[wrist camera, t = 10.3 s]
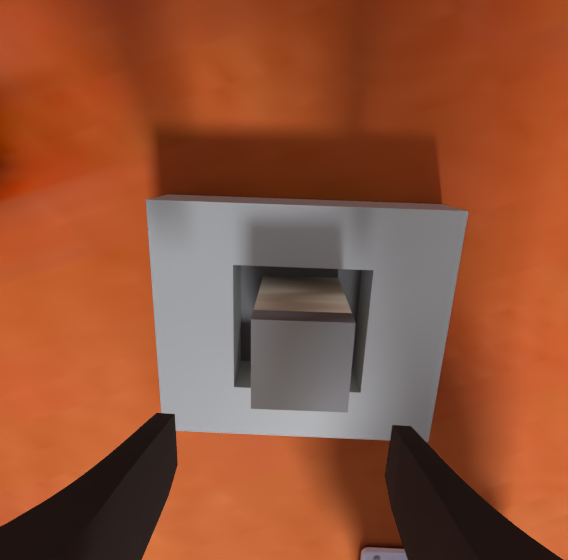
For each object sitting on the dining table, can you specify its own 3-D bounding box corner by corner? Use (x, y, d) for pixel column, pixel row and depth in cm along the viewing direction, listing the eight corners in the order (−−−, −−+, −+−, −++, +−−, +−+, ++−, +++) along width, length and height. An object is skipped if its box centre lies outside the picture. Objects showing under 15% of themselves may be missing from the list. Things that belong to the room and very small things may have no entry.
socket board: (442, 203, 19) (468, 211, 16) (411, 407, 23) (428, 442, 20) (167, 194, 19) (145, 199, 17) (179, 396, 23) (162, 430, 20)
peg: (338, 277, 20) (355, 323, 14) (333, 345, 21) (347, 412, 16) (263, 275, 20) (250, 319, 15) (262, 343, 21) (250, 408, 16)
